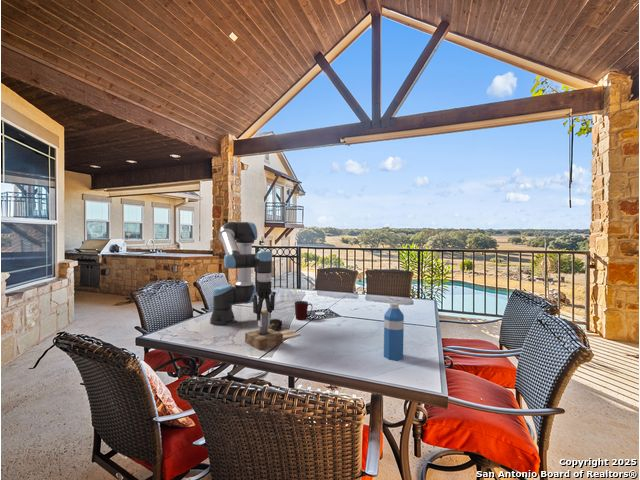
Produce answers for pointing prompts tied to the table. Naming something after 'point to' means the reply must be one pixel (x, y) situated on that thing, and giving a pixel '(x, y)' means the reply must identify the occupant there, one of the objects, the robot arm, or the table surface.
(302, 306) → the mug
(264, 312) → the plug
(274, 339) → the socket block
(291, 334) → the light brown wooden board
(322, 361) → the table surface
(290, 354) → the table surface
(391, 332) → the water bottle
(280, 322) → the brown lumpy club
